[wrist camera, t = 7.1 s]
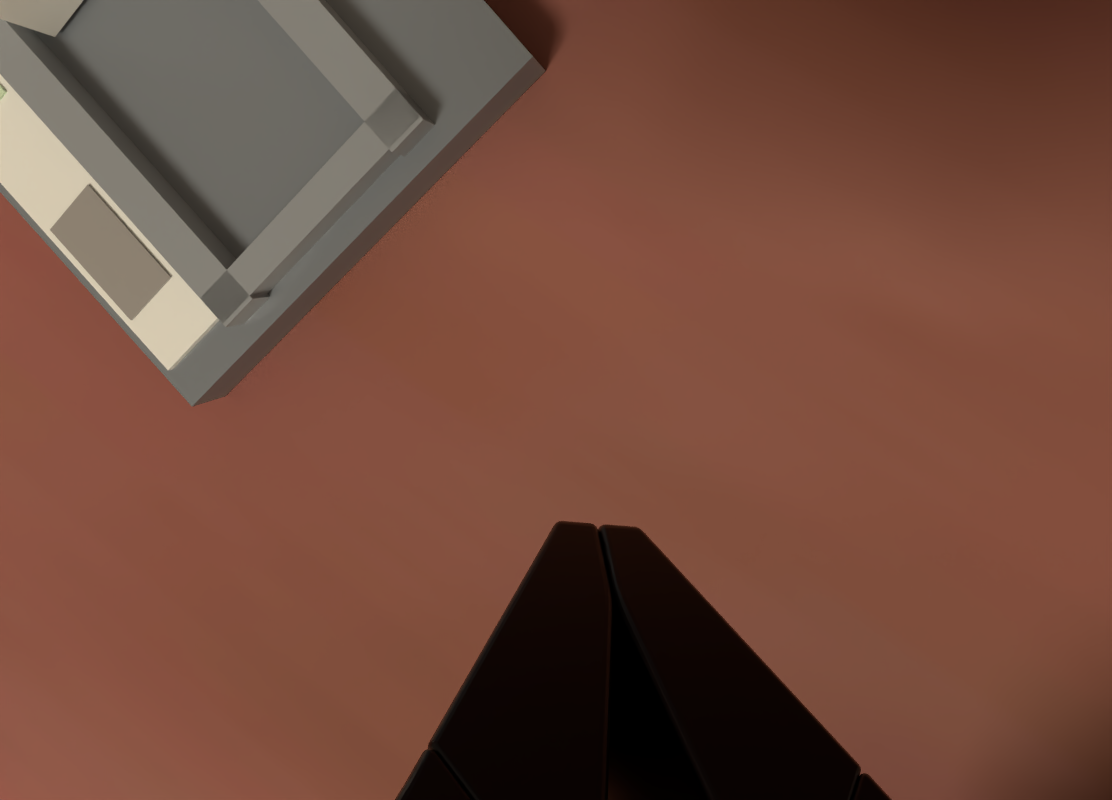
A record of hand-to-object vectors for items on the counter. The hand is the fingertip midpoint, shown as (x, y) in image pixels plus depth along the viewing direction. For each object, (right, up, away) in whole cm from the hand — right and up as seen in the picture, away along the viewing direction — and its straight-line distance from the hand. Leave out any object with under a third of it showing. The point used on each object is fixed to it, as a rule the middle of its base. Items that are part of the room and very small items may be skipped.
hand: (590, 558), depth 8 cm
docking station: (-10, +11, +12) cm, 19 cm away
